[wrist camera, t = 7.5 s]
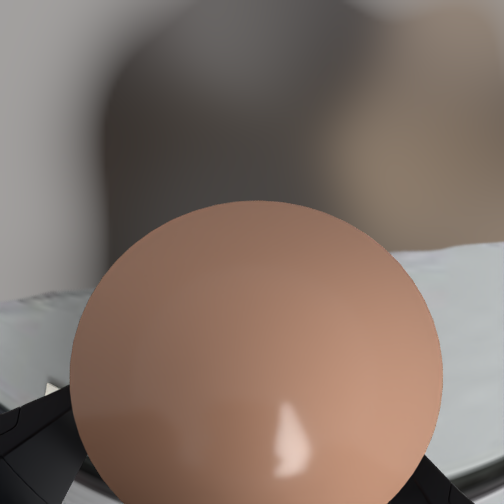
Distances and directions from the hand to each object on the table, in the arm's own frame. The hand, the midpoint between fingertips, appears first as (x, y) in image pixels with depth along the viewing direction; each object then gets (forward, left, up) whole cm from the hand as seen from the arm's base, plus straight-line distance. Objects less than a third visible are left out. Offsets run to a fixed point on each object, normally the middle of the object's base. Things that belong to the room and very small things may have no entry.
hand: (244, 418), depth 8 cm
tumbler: (0, +1, -7) cm, 7 cm away
